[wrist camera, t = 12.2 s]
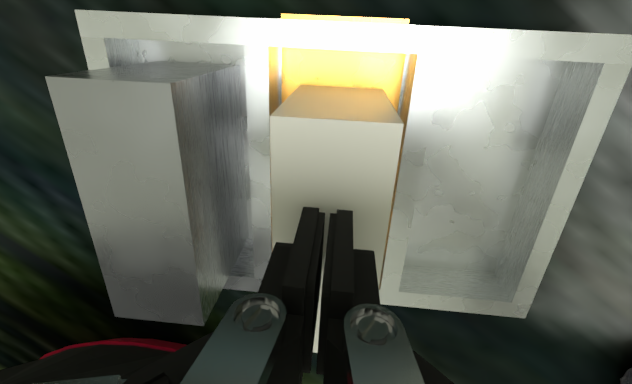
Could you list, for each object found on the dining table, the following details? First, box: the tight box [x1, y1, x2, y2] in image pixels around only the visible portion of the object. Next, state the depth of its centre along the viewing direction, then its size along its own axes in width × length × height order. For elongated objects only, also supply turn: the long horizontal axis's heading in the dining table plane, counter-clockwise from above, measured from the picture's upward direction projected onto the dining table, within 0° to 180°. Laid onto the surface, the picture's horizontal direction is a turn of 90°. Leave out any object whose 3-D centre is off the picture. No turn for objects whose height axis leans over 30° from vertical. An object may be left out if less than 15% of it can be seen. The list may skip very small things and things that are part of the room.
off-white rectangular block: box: [270, 85, 404, 353], centre depth 15 cm, size 4×10×7 cm, turn 178°
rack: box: [45, 10, 632, 326], centre depth 15 cm, size 22×14×8 cm, turn 88°
